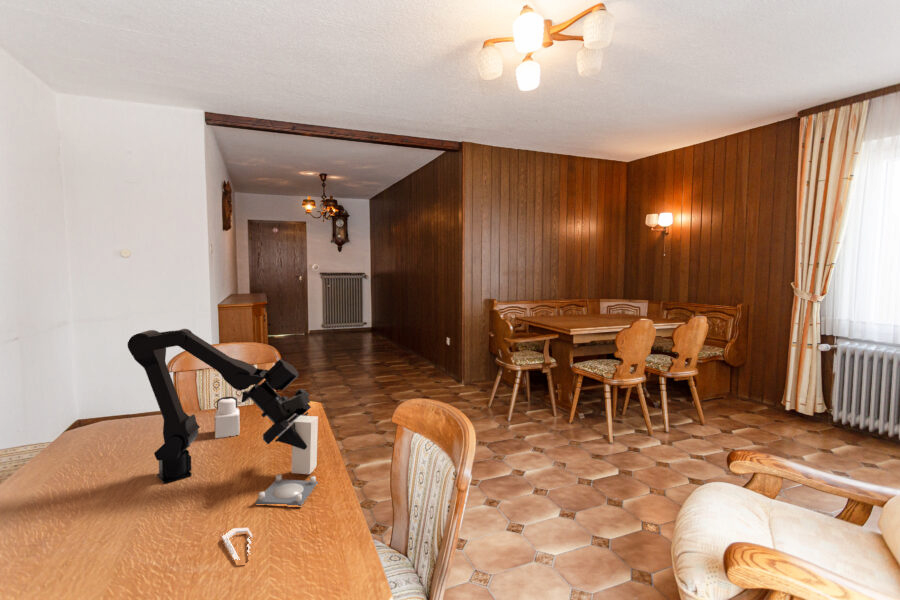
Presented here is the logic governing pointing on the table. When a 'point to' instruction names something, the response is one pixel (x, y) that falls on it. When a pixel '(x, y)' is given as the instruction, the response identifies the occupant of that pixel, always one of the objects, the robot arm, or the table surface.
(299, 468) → the block
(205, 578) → the table surface
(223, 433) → the medicine bottle
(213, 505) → the table surface
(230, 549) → the white bent piece
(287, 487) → the locating plate
